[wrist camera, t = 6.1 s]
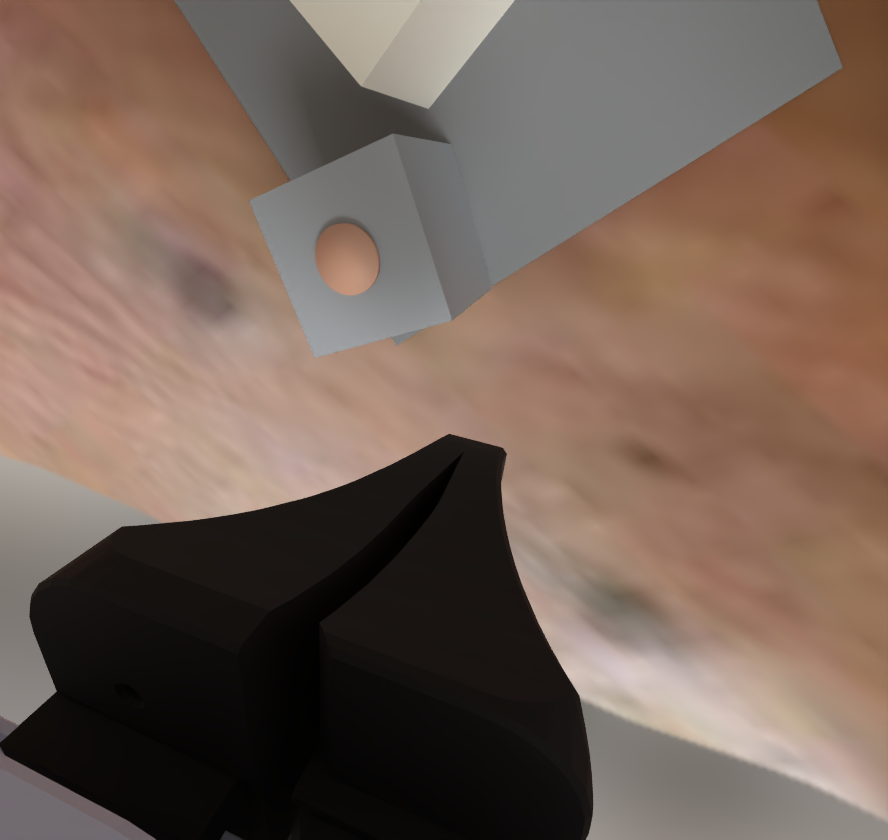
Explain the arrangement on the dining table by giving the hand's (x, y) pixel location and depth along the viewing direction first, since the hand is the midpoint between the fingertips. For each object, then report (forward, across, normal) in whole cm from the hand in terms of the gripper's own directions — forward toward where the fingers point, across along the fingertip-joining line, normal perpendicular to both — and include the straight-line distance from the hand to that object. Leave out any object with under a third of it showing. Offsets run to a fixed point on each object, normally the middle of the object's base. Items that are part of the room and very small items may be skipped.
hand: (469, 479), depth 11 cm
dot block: (+10, +5, -3) cm, 11 cm away
